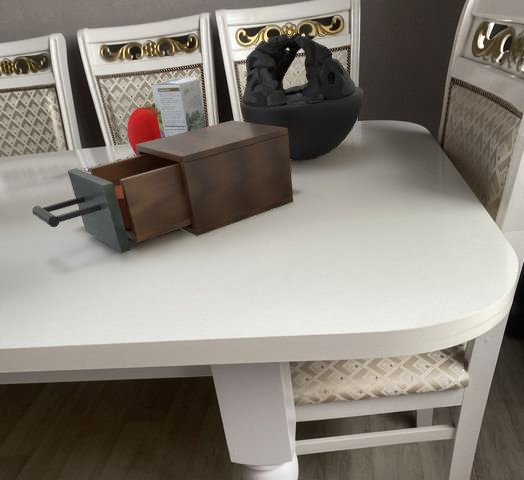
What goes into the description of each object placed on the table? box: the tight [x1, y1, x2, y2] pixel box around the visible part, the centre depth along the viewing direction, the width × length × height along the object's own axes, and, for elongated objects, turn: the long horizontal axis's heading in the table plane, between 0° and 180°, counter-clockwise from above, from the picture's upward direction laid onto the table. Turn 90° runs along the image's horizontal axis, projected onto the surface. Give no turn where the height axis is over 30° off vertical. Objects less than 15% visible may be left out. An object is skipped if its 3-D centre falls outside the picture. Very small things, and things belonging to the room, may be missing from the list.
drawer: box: [31, 153, 192, 254], centre depth 64 cm, size 21×11×8 cm, turn 127°
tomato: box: [126, 103, 161, 156], centre depth 98 cm, size 12×12×10 cm
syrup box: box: [151, 76, 207, 138], centre depth 88 cm, size 6×6×14 cm
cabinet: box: [135, 119, 294, 237], centre depth 70 cm, size 16×13×10 cm
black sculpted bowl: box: [239, 32, 364, 162], centre depth 86 cm, size 20×20×19 cm
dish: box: [114, 185, 132, 229], centre depth 65 cm, size 7×7×4 cm
